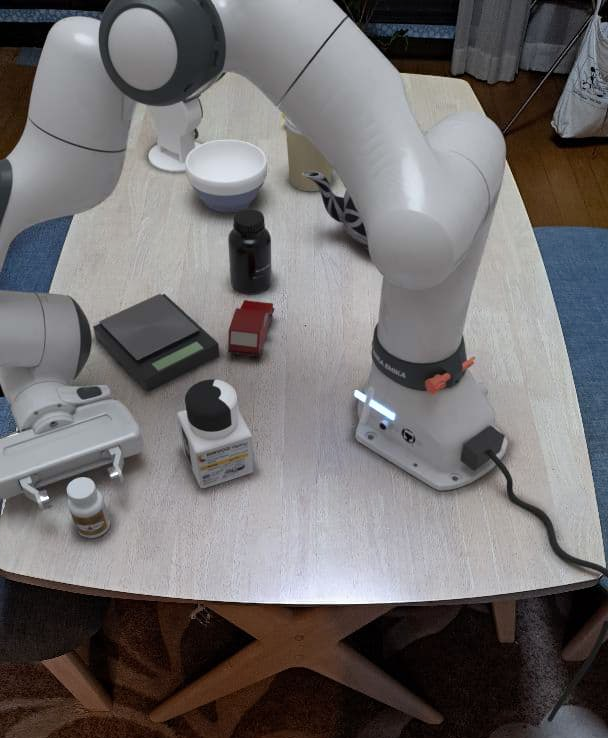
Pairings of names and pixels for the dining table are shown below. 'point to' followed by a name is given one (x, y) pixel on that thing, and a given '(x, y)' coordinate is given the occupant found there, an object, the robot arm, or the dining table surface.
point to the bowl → (226, 173)
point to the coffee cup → (304, 160)
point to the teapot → (340, 208)
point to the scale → (155, 341)
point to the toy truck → (249, 328)
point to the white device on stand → (175, 133)
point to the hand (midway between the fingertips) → (82, 493)
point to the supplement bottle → (250, 252)
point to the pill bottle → (87, 508)
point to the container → (215, 433)
